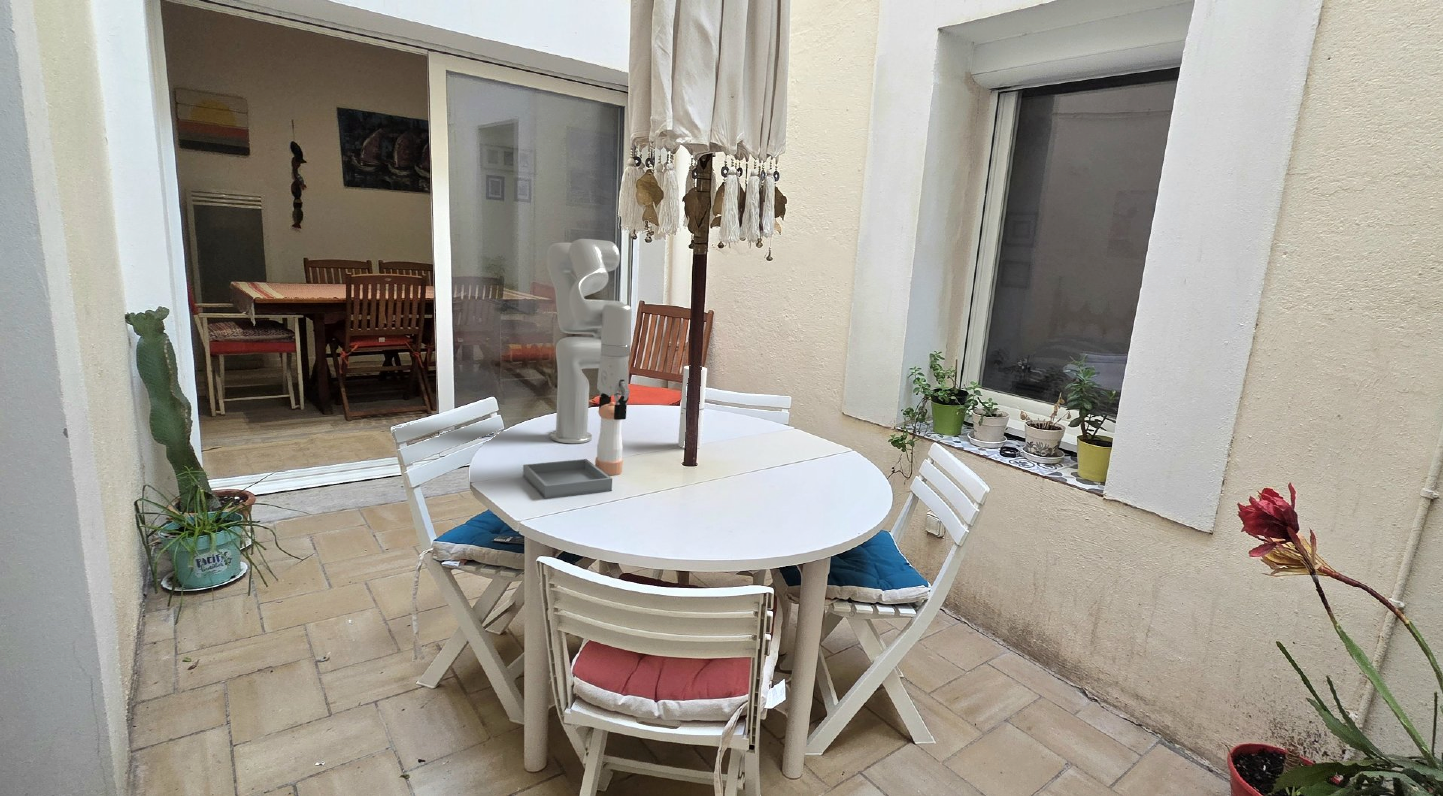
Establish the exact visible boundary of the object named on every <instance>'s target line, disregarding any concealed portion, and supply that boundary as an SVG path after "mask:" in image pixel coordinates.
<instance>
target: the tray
mask: <svg viewBox="0 0 1443 796" xmlns="http://www.w3.org/2000/svg"><path fill="white" fill-rule="evenodd" d="M522 465H523V466H522V467H523V471H522V477H523V478H524V479H525V481H527V483H528V484H530V485H531V486H532V487H533V488H534V489H535V490H536V491H537V493H539V494H540V495H541V497H542V498H543V499H544V500H547V499H554V498H555V499H556V498H564V497H571V496H581V495H588V494H589V495H590V494H596V493H597V494H598V493H604V492H605V493H606V492H612V490H613V478H612V477H611V475H607V474H606V473H604V472H603V471H602V470H600V469H599V468H598V467H596V466H595V463H593V462H591V461H590V460H588V458H581V459H573V460H572V459H571V460H569V459H568V460H561V461H559V460H558V461H550V462H538V463H528V464H522Z"/></svg>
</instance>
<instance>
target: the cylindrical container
mask: <svg viewBox="0 0 1443 796" xmlns="http://www.w3.org/2000/svg"><path fill="white" fill-rule="evenodd" d="M689 366H690V365H685V366H684V367H683V374H682V375H683V377H682V389H681V403H680V414H679V415H680V418H679V429H678V441H677V442H678V443H677V447H678V446H680V447H682V448H681V449H683V446H684V441H685V432H686V386H687V383H688V378H689ZM701 367H702V370H701V393H700V404H699V426H698V446H699V448H700V446H701V447H702V437H703V436H702V434H703V424H704V423H703V422H704V413H705V412H704V411H705V400H706V399H705V398H706V390H707V389H706V388H707V374H708V368H707V367H703V366H701ZM680 447H679V448H680ZM700 449H701V448H700Z"/></svg>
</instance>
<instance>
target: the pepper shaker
mask: <svg viewBox="0 0 1443 796" xmlns="http://www.w3.org/2000/svg"><path fill="white" fill-rule="evenodd" d="M615 404H616V402H615V401H611V402H610V403H609V404H606V405H603V406H601V407H600V409H599V408H598V411H597V413H598V415H599V417H600V430H599V432H600V433H599V437H598V440H597V441H598V442H597V446H596V447H597V449H596V451H597V452H596V458H595V461H594V462H595V463H594V465H595V466H596V467H598V468H599V469H600V470H602V471H603V472H604V473H606V474H607V475H608V476H617V475H620V474H622V473H623V465H624V464H623V461H624V459H623V458H622V456H623V442H622V440H623V439H622V421H623V420H615V419H614V406H615Z"/></svg>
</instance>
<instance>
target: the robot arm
mask: <svg viewBox="0 0 1443 796" xmlns="http://www.w3.org/2000/svg"><path fill="white" fill-rule="evenodd" d="M546 253H547V254H546V265H547V271H548V274H549V277H550V279H551V282H552V285H553V288H554V292H555V304H556V314H557V323H558V327H559V330H560V331H561V332H563V333H566V334H572V335H573V334H574V335H577V334H578V335H593V336H589V337H588V336H567V337H563V338H561V339H560V340H558V342H557V343H556V346H555V358H556V359H555V360H556V366H557V390H556V391H557V393H556V394H557V395H556V396H557V397H556V398H557V399H556V418H555V420H556V422H555V431H552V432H551V433H550V439H551V440H552V441H555V442H558V443H562V444H563V443H564V444H583V443H588V442H590V441H592V439H593V434H592V433H591V432H589V431H588V423H589V422H588V421H589V420H588V419H589V401H590V382H589V378H587V376H586V375H585V374H584V372H583V369H598V371H597V382H596V383H597V385H596V389H597V390H598V392H599V393H598V396H599V398H598V399H599V401H598V410H599V409H600V407H601V406H603V405H606V404H609V403H610V402H612V397H614V400H615V401H614V402H615V406H614V419H615V420H622V421H624V420H626V419H627V407H628V406H627V405H628V401H629V399H630V398H629V396H630V392H631V390H630V387H629V374H630V373H629V372H630V371H629V359H630V355H631V352H630V351H631V338H632V337H631V334H632V319H633V318H632V317H633V310H632V307H631V306H630V305H628V304H625V303H623V302H622V301H620V300H606V299H590V298H589V299H586V298H585V297H586V296H589V295H592V294H595V293H597V292H599V291H601V290H603V289H604V288H605V287H606V286H607V284H608V283H609V272H612V271H614V270H616V269H617V268H618V266H619V265H620V262H621V261H620V259H621V255H620V251H619V248H618V246H617V245H616V243H614V242H613V241H611V240H604V239H603V240H602V239H591V238H580V239H575V240H574V241H573V242H555V243H553V244H552V245H550V246H549V248H548V250H547V252H546ZM571 272H574V274H575V275H574V274H572V273H571Z"/></svg>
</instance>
